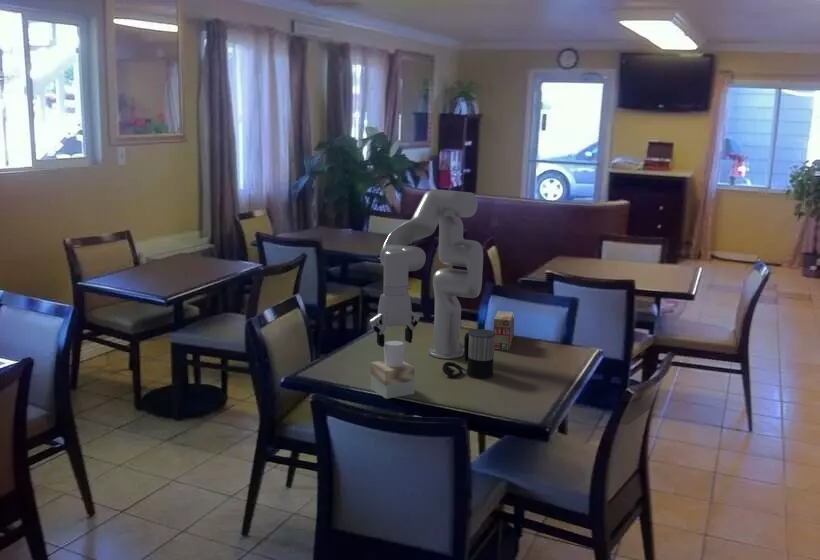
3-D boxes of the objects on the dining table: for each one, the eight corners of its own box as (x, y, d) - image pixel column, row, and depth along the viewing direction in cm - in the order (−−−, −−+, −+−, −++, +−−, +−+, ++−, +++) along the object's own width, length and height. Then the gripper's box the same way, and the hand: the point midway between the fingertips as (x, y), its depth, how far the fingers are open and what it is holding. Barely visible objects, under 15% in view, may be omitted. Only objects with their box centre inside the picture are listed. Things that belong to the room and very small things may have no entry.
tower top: (398, 371, 254) (399, 358, 253) (413, 381, 245) (414, 367, 244) (370, 375, 249) (370, 362, 248) (385, 385, 241) (385, 371, 240)
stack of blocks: (498, 335, 316) (499, 305, 313) (513, 336, 315) (515, 306, 312) (492, 350, 295) (493, 318, 293) (509, 351, 294) (510, 319, 292)
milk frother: (499, 375, 266) (501, 332, 263) (468, 385, 255) (470, 341, 252) (467, 365, 276) (469, 324, 273) (436, 374, 265) (438, 331, 262)
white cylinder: (402, 368, 243) (402, 346, 241) (380, 366, 244) (380, 345, 242) (406, 362, 249) (407, 340, 248) (385, 360, 251) (385, 339, 249)
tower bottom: (398, 385, 255) (398, 371, 254) (414, 394, 246) (414, 380, 246) (370, 389, 250) (371, 376, 249) (386, 399, 241) (386, 385, 240)
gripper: (414, 284, 250) (412, 337, 253) (364, 290, 241) (364, 344, 245) (426, 290, 243) (424, 343, 247) (376, 295, 235) (375, 350, 239)
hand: (394, 343), depth 246 cm, fingers open, 9 cm apart
